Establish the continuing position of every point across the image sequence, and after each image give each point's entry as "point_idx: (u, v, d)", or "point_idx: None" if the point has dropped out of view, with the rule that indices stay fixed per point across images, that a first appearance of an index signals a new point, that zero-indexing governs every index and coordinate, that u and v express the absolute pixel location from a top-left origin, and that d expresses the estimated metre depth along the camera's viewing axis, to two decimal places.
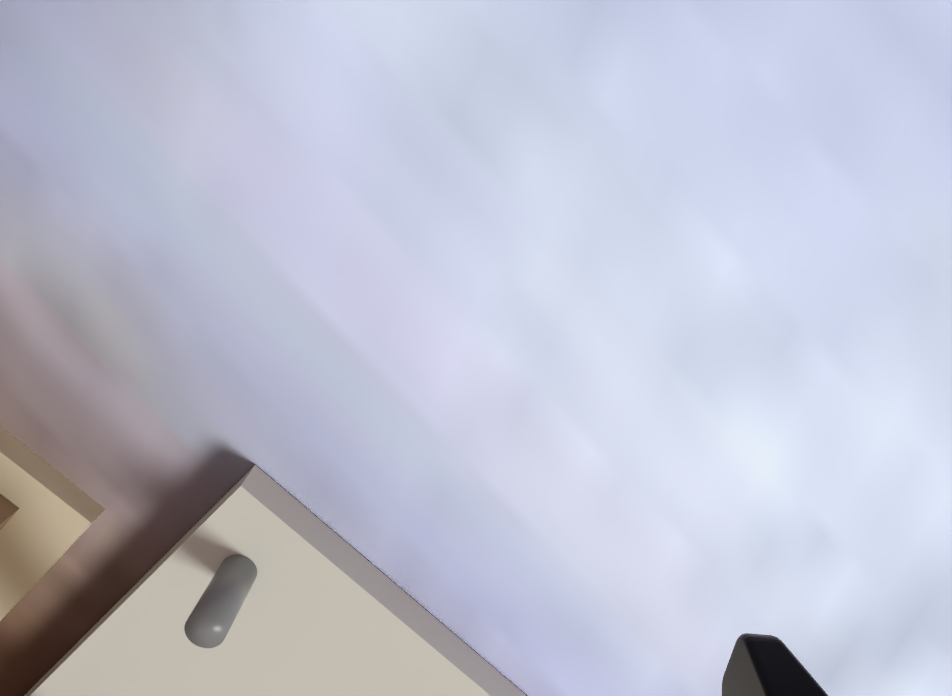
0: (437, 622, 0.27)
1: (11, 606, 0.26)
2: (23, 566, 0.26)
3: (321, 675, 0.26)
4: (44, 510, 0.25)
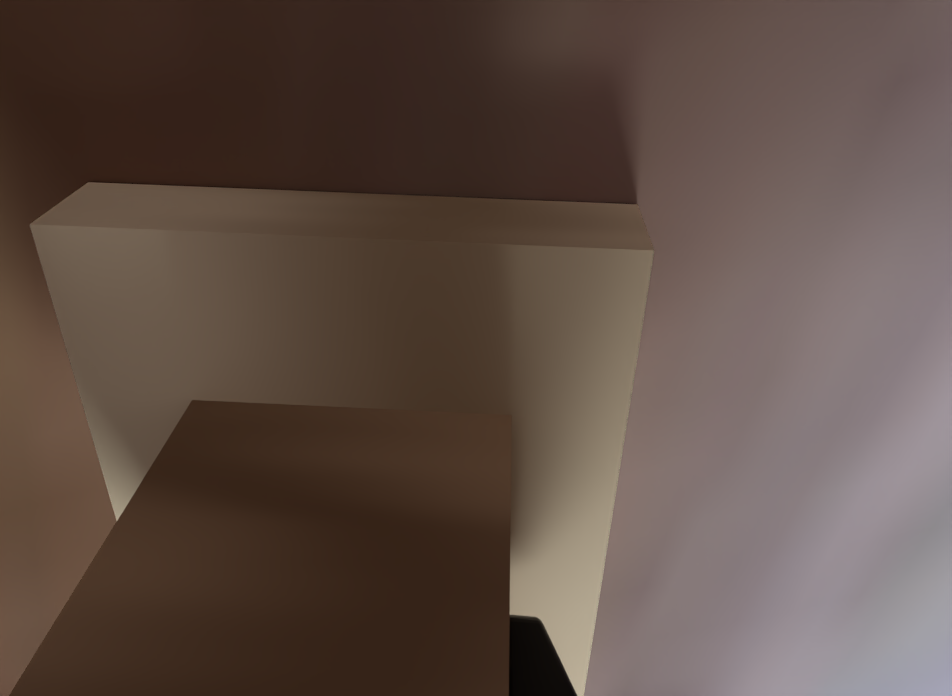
0: None
1: None
2: None
3: None
4: None
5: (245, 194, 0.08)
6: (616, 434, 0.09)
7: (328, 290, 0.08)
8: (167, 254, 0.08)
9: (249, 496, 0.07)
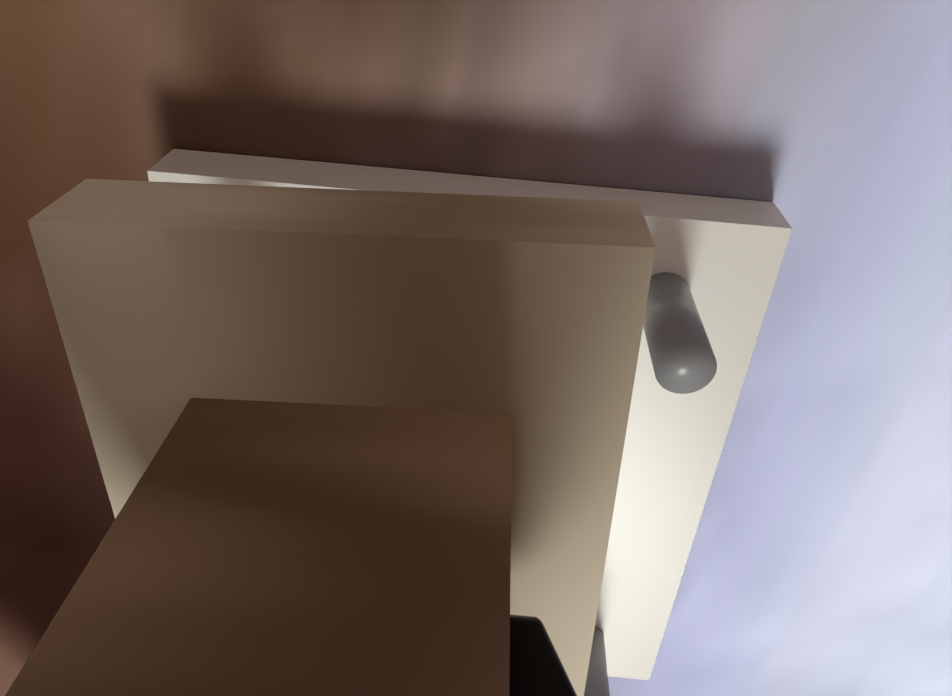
0: None
1: None
2: None
3: None
4: None
5: (245, 191, 0.08)
6: (617, 432, 0.08)
7: (328, 287, 0.08)
8: (166, 251, 0.08)
9: (248, 494, 0.07)
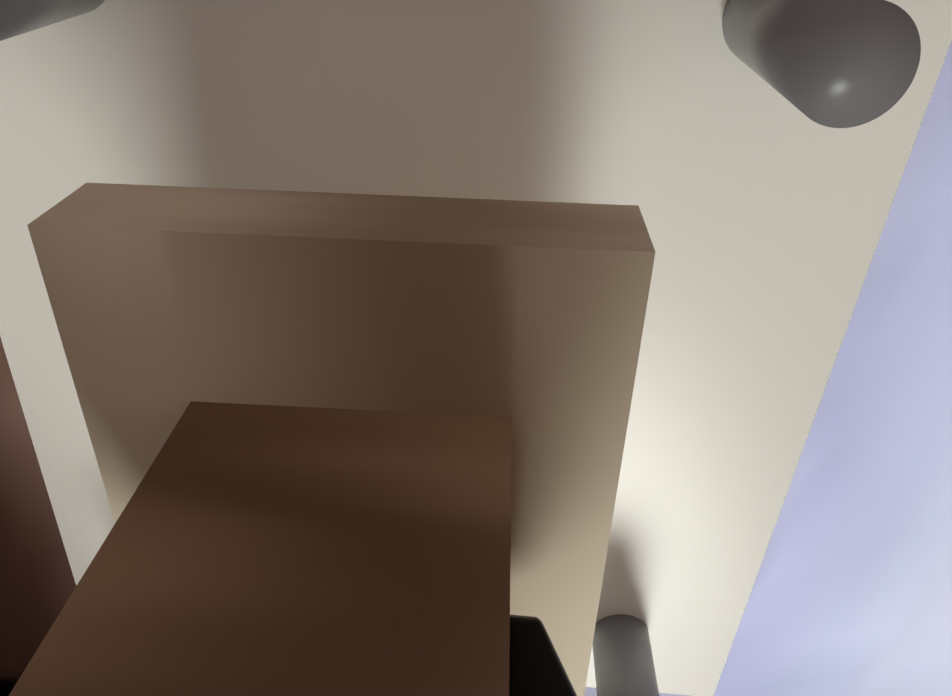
0: None
1: None
2: None
3: None
4: None
5: (244, 195, 0.08)
6: (616, 436, 0.08)
7: (327, 292, 0.08)
8: (166, 255, 0.08)
9: (248, 498, 0.07)
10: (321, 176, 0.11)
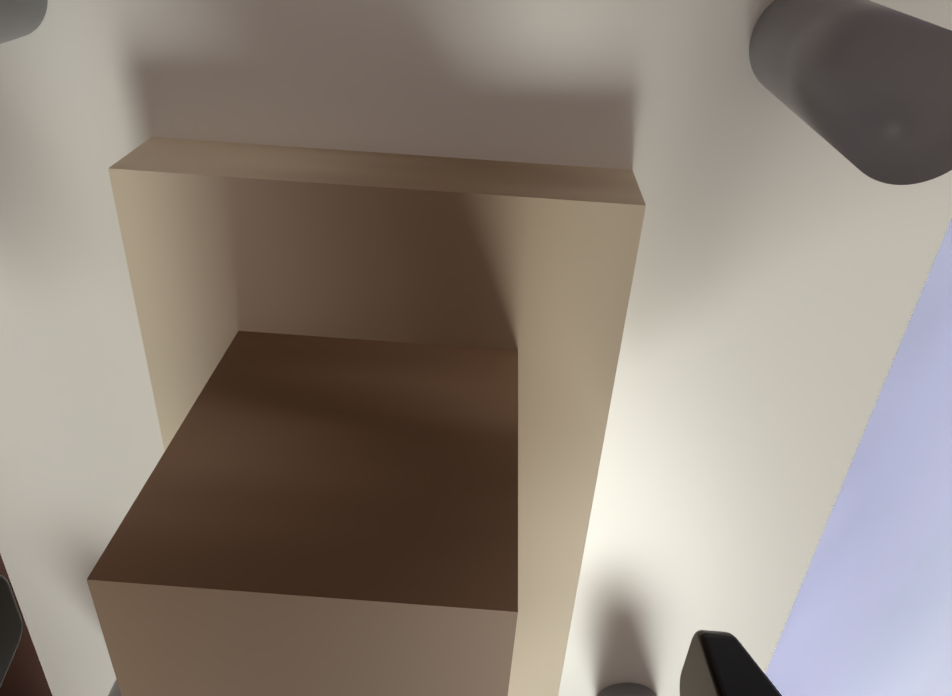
0: None
1: None
2: None
3: (634, 372, 0.11)
4: (520, 646, 0.13)
5: (290, 151, 0.09)
6: (608, 370, 0.10)
7: (364, 234, 0.09)
8: (226, 198, 0.09)
9: (294, 405, 0.08)
10: None
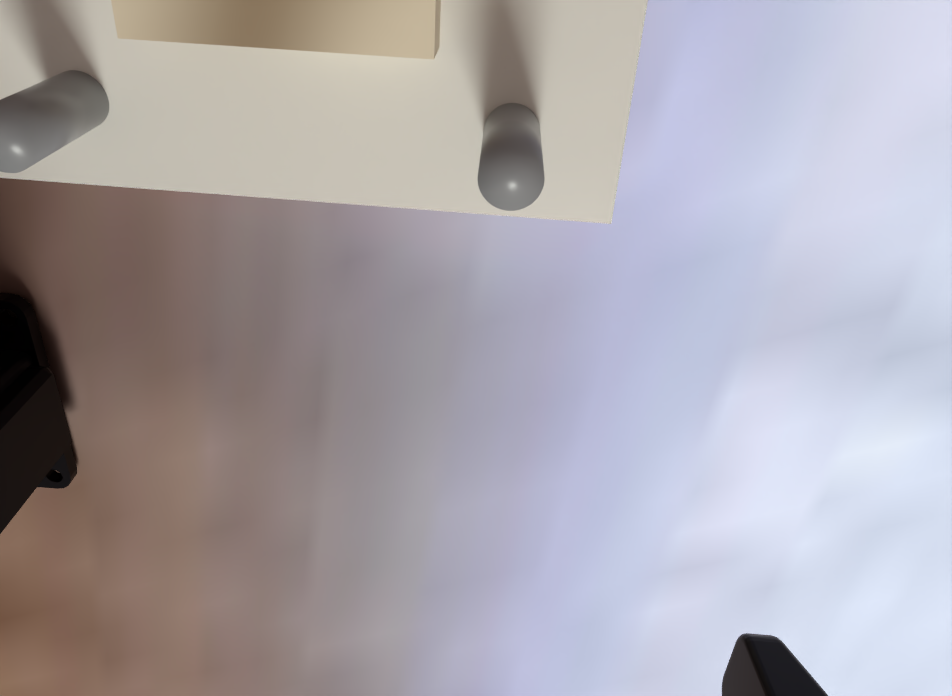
0: None
1: (191, 40, 0.15)
2: (274, 11, 0.14)
3: None
4: None
5: None
6: None
7: None
8: None
9: None
10: None
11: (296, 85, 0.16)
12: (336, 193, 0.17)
